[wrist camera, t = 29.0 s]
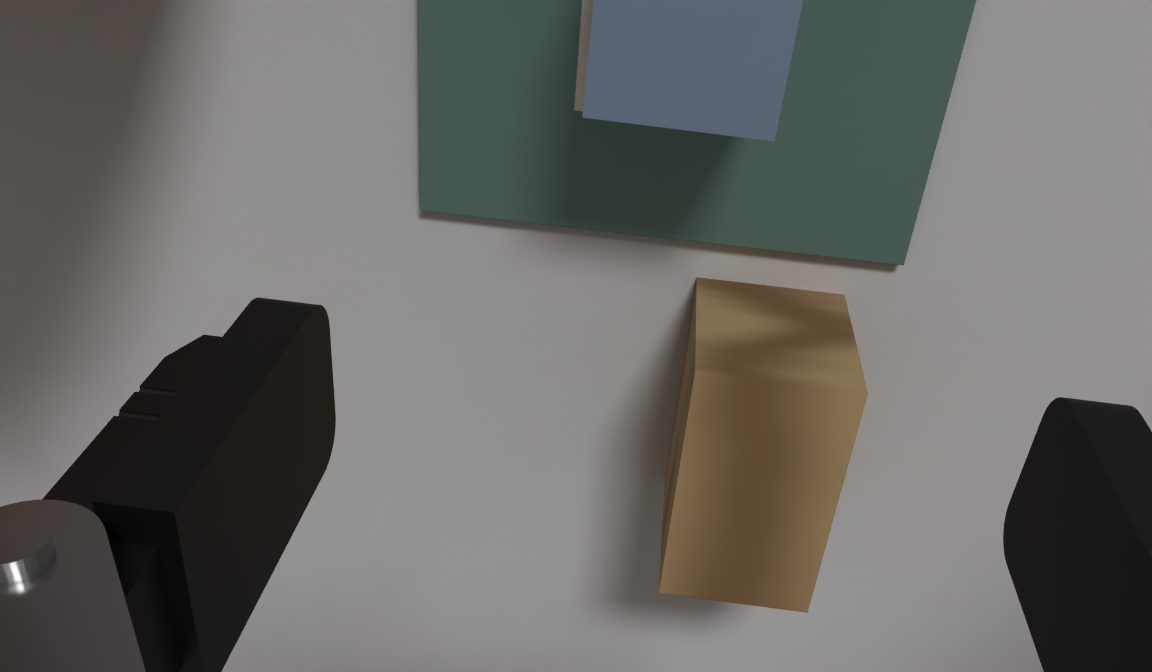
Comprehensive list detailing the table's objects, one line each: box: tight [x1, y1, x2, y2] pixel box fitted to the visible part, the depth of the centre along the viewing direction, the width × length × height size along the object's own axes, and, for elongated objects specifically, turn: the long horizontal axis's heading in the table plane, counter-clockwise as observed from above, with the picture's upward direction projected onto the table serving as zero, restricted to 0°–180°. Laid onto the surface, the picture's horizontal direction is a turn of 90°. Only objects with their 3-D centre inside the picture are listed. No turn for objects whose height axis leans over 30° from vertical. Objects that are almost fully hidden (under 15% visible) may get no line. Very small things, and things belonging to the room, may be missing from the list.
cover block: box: [659, 278, 868, 613], centre depth 34 cm, size 5×9×6 cm, turn 176°
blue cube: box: [582, 0, 803, 141], centre depth 27 cm, size 5×5×5 cm
